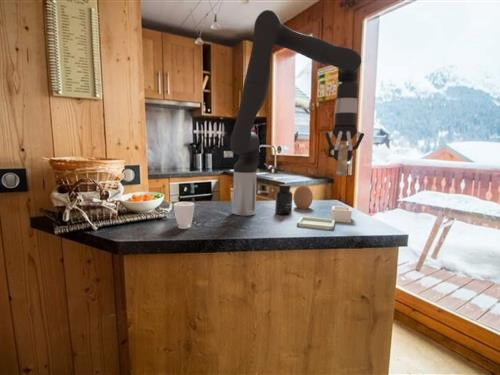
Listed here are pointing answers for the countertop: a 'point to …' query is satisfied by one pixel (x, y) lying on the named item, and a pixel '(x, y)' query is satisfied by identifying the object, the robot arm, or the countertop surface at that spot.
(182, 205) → the cup
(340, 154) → the dowel
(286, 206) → the supplement bottle
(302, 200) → the egg
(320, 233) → the countertop surface
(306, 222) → the tray
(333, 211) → the holder cup
